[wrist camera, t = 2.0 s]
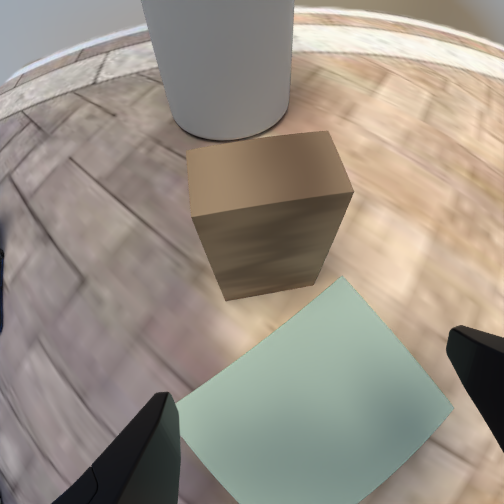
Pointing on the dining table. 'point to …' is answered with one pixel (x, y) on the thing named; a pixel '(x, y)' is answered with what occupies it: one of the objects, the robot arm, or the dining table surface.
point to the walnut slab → (267, 209)
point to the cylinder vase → (223, 63)
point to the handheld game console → (0, 262)
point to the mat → (314, 408)
